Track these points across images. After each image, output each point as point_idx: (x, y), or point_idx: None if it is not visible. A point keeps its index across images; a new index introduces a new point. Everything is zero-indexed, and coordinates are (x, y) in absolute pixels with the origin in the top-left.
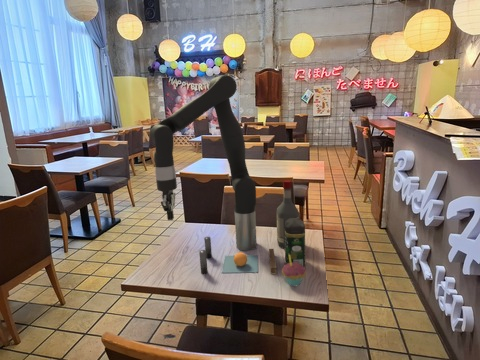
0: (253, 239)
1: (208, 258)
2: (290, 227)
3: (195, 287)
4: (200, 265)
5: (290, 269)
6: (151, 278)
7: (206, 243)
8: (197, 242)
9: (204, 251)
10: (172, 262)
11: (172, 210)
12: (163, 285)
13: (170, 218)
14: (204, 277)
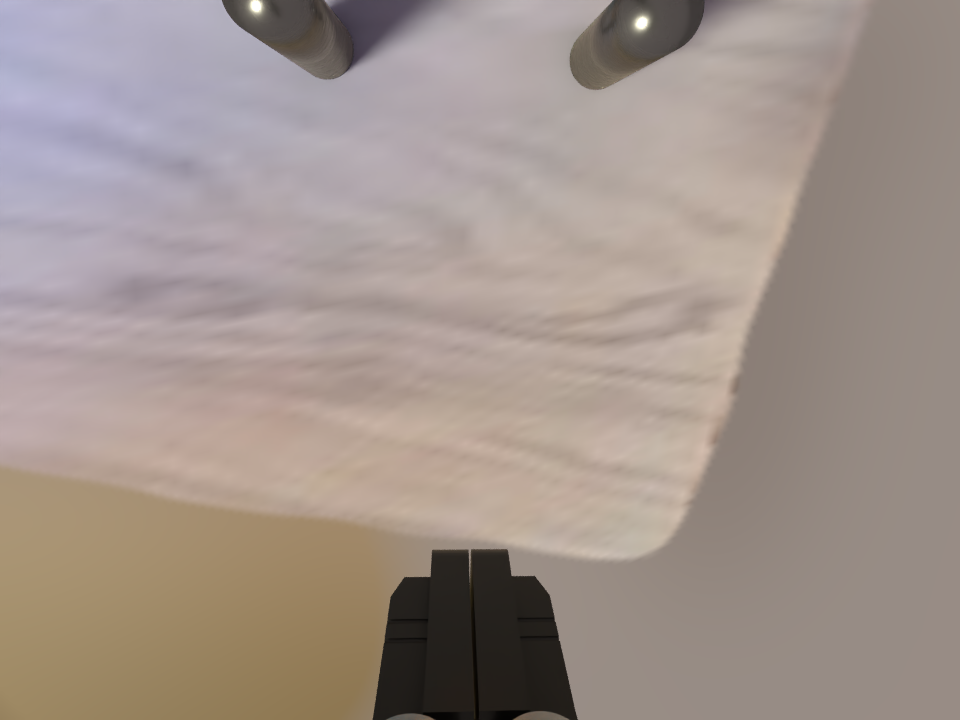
0: None
1: (353, 48)
2: None
3: (800, 106)
4: (626, 76)
5: None
6: (625, 445)
7: (318, 19)
8: (18, 211)
9: None
10: (413, 359)
11: (468, 715)
12: (726, 346)
13: (542, 605)
14: None
